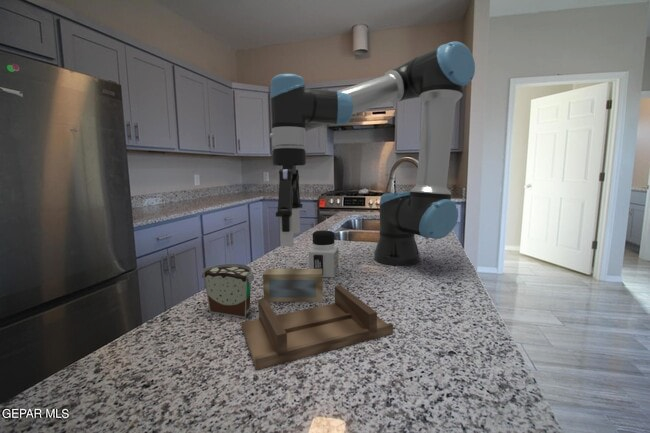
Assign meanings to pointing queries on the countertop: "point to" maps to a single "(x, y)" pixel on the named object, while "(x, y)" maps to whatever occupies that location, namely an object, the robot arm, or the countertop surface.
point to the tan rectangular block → (293, 285)
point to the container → (324, 253)
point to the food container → (228, 289)
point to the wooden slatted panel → (311, 329)
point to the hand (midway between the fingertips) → (291, 239)
